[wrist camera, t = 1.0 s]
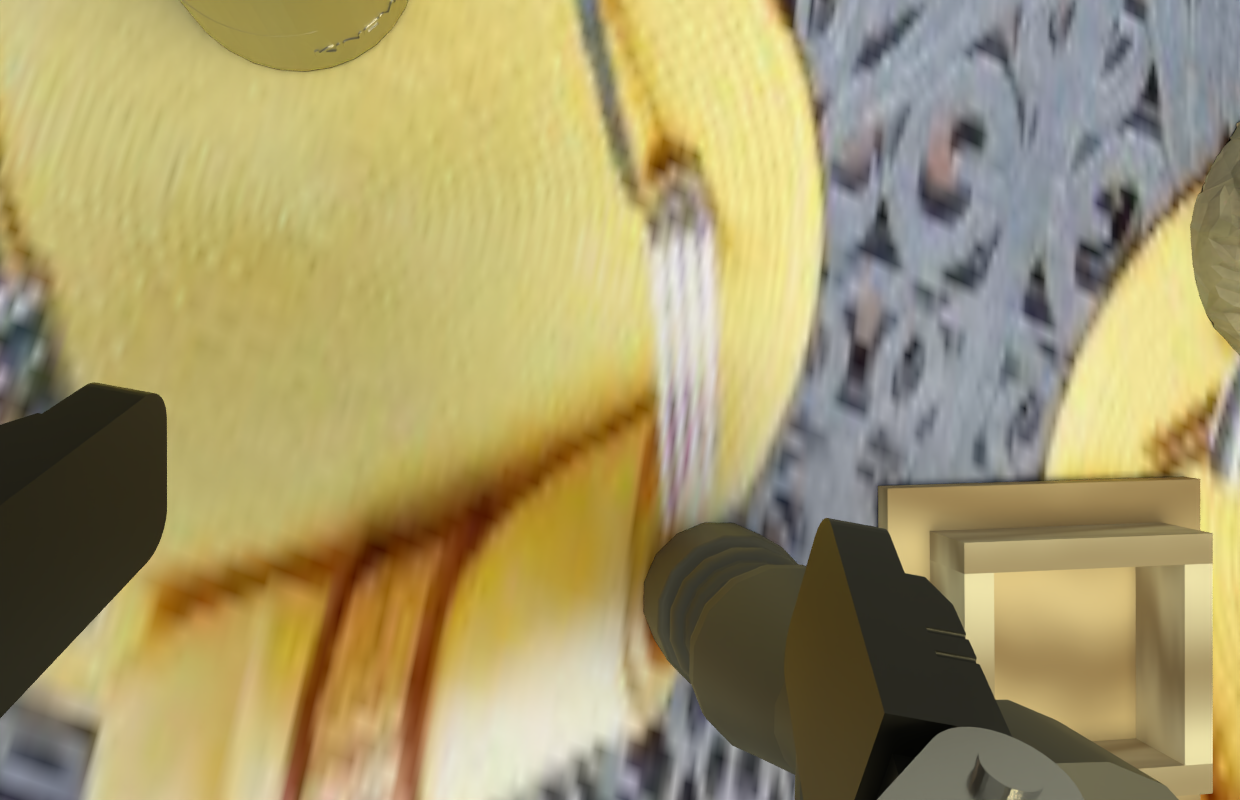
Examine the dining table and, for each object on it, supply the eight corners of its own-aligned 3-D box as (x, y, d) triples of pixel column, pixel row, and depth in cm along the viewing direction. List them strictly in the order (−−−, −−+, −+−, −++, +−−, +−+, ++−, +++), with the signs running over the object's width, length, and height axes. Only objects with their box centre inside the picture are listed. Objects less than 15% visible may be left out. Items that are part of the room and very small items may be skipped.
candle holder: (699, 492, 41) (1030, 670, 16) (818, 575, 41) (1312, 870, 17) (612, 617, 40) (813, 1002, 15) (734, 700, 41) (1111, 1191, 16)
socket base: (877, 485, 42) (919, 497, 38) (1183, 476, 43) (1253, 486, 39) (880, 816, 42) (921, 862, 38) (1183, 793, 44) (1253, 834, 40)
